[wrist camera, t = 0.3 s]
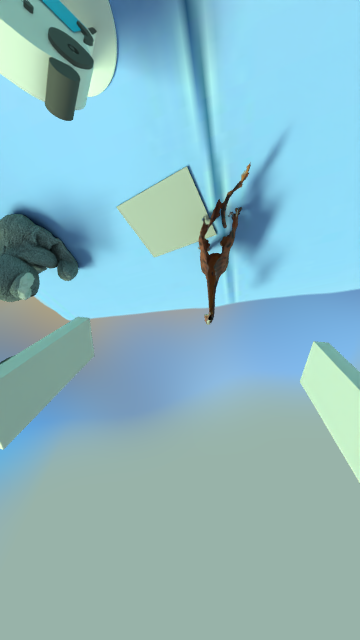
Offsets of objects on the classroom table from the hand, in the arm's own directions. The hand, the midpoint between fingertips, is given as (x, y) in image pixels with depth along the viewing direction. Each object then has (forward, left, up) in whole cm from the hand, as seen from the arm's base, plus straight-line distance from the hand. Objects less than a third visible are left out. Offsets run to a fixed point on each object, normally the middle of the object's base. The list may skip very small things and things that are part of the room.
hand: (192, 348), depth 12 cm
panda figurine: (-18, -12, -35) cm, 42 cm away
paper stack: (+12, -19, -36) cm, 42 cm away
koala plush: (-2, -50, -35) cm, 62 cm away
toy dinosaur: (+14, -7, -35) cm, 39 cm away
